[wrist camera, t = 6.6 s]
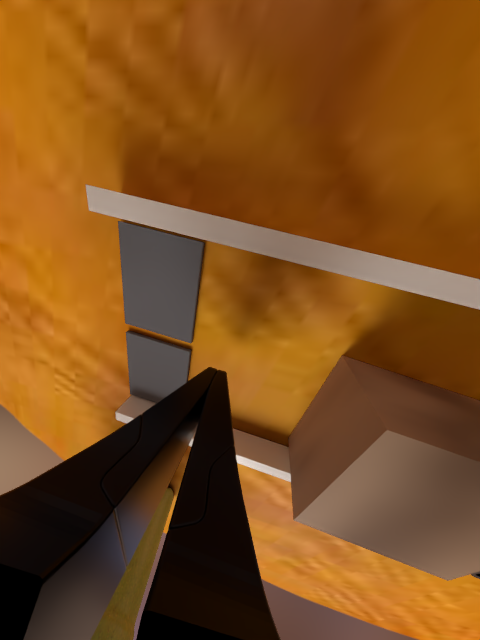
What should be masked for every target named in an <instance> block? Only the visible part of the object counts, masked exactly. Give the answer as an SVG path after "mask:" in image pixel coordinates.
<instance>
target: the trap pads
mask: <svg viewBox="0 0 480 640" xmlns="http://www.w3.org/2000/svg"><path fill="white" fill-rule="evenodd" d="M118 226H119V240H120V254H121V268H122V283H123V297H124V311H125V323H126V324H130V325H133V326H136V327H139V328H143V329H146V330H149V331H152V332H156V333H159V334H162V335H166V336H169V337H172V338H175V339H179V340H182V341H185V342H188V343H192V341H193V333H194V325H195V317H196V309H197V301H198V293H199V285H200V277H201V269H202V261H203V253H204V245H205V243H204V242H200V241H196V240H192V239H188V238H184V237H180V236H176V235H172V234H169V233H165V232H161V231H157V230H153V229H149V228H145V227H141V226H137V225H133V224H129V223H125V222H121V221H118ZM126 340H127V354H128V368H129V383H130V394H131V395H134V396H137V397H140V398H143V399H146V400H149V401H152V402H154V403H158V402H159V401H161V400H162V399H163V398H165V397H166V396H168V395H169V394H171V393H172V392H174V391H175V390H176V389H178V388H179V387H181V386H182V385H184V384H185V383H187V382H188V374H189V366H190V358H191V350H190V349H186V348H183V347H180V346H177V345H173V344H170V343H167V342H164V341H161V340H157V339H154V338H151V337H148V336H144V335H141V334H138V333H135V332H131V331H127V332H126Z"/></svg>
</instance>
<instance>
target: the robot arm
mask: <svg viewBox="0 0 480 640" xmlns="http://www.w3.org/2000/svg"><path fill="white" fill-rule="evenodd" d="M195 431H196V433H195ZM194 433H195V436H194V440H193V444H192V447H191V451H190V454H189V458H188V461H187V465H186V468H185V472H184V475H183V479H182V482H181V486H180V489H179V493H178V496H177V500H176V503H175V507H174V510H173V514H172V517H171V521H170V524H169V529H168V532H167V535H166V538H165V542H164V545H163V549H162V552H161V556H160V559H159V562H158V566H157V569H156V572H155V575H154V579H153V582H152V585H151V588H150V591H149V595H148V598H147V601H146V604H145V607H144V611H143V613H142V617H141V621H140V626H139V630H138V635H137V639H136V640H281V639H280V637H279V634H278V631H277V629H276V626H275V623H274V621H273V618H272V615H271V612H270V608H269V605H268V601H267V598H266V595H265V591H264V587H263V584H262V580H261V576H260V572H259V568H258V563H257V559H256V554H255V550H254V545H253V541H252V536H251V532H250V527H249V523H248V518H247V514H246V509H245V505H244V500H243V495H242V490H241V485H240V480H239V474H238V467H237V460H236V451H235V446H234V435H233V426H232V417H231V408H230V399H229V390H228V382H227V373H226V372H225V371H221V370H218V371H217V369H215V368H212V367H208V368H207V369H205V370H204V371H203V372H201V373H200V374H198V375H197V376H195V377H194V378H192V379H191V380H189V381H188V382H187V383H185V384H184V385H182V386H181V387H179V388H178V389H176V390H175V391H174V392H172V393H171V394H169V395H168V396H166V397H165V398H163V399H162V400H161V401H159V402H158V403H156V404H155V405H153V406H152V407H150V408H149V409H148V410H146V411H145V412H143V413H142V415H141V414H140V415H139V416H137V417H136V418H134V419H133V420H131V421H130V422H128V423H127V424H125V425H124V426H122V427H121V428H119V429H118V430H116V431H115V432H113V433H112V434H110V435H108V436H107V437H105V438H103V439H102V440H100V441H98V442H97V443H95V444H93V445H92V446H90V447H88V448H86V449H85V450H83V451H81V452H79V453H78V454H76V455H74V456H72V457H71V458H69V459H67V460H66V461H64V462H62V463H60V464H59V465H57V466H55V467H54V468H52V469H50V470H48V471H47V472H45V473H43V474H41V475H40V476H38V477H36V478H34V479H33V480H31V481H29V482H27V483H25V484H23V485H21V486H20V487H17V488H15V489H14V490H11V491H9V492H7V493H4V494H2V495H0V640H91V638H92V636H93V634H94V632H95V630H96V628H97V626H98V624H99V622H100V620H101V618H102V616H103V614H104V612H105V610H106V608H107V606H108V604H109V602H110V600H111V598H112V596H113V594H114V592H115V590H116V588H117V586H118V584H119V582H120V580H121V578H122V577H123V575H124V573H125V571H126V567H127V566H128V564H129V562H130V560H131V559H132V557H133V555H134V553H135V551H136V549H137V547H138V545H139V543H140V541H141V539H142V537H143V535H144V533H145V531H146V529H147V527H148V525H149V523H150V521H151V519H152V517H153V515H154V513H155V511H156V509H157V507H158V505H159V503H160V501H161V499H162V497H163V495H164V493H165V491H166V489H167V487H168V485H169V483H170V481H171V479H172V477H173V475H174V473H175V471H176V469H177V467H178V465H179V463H180V461H181V459H182V457H183V455H184V453H185V451H186V449H187V447H188V445H189V443H190V441H191V439H192V437H193V435H194ZM471 575H472V576H474V577H476V578H479V579H480V571H479V572H476V573H472V574H471Z"/></svg>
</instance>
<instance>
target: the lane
mask: <svg viewBox="0 0 480 640" xmlns="http://www.w3.org/2000/svg"><path fill="white" fill-rule="evenodd" d="M86 191H87V199H88V206H89V211H93V212H97V213H101V214H105V215H109V216H113V217H116V218H120V219H124V220H128V221H132V222H136V223H140V224H144V225H148V226H152V227H156V228H160V229H164V230H168V231H172V232H176V233H180V234H183V235H187V236H191V237H195V238H199V239H203V240H207V241H211V242H215V243H219V244H223V245H227V246H231V247H235V248H239V249H243V250H247V251H250V252H254V253H258V254H262V255H266V256H270V257H274V258H278V259H282V260H286V261H290V262H294V263H298V264H302V265H306V266H310V267H313V268H317V269H321V270H325V271H329V272H333V273H337V274H341V275H345V276H349V277H353V278H357V279H361V280H365V281H369V282H373V283H377V284H380V285H384V286H388V287H392V288H396V289H400V290H404V291H408V292H412V293H416V294H420V295H424V296H428V297H432V298H436V299H440V300H444V301H447V302H451V303H455V304H459V305H463V306H467V307H471V308H475V309H479V310H480V279H476V278H472V277H468V276H464V275H460V274H455V273H451V272H447V271H443V270H439V269H435V268H431V267H426V266H422V265H418V264H414V263H410V262H406V261H401V260H397V259H393V258H389V257H385V256H381V255H377V254H372V253H368V252H364V251H360V250H356V249H352V248H347V247H343V246H339V245H335V244H331V243H327V242H323V241H318V240H314V239H310V238H306V237H302V236H298V235H293V234H289V233H285V232H281V231H277V230H273V229H268V228H264V227H260V226H256V225H252V224H248V223H244V222H239V221H235V220H231V219H227V218H223V217H219V216H214V215H210V214H206V213H202V212H198V211H194V210H190V209H185V208H181V207H177V206H173V205H169V204H165V203H160V202H156V201H152V200H148V199H144V198H140V197H136V196H131V195H127V194H123V193H119V192H115V191H111V190H106V189H102V188H98V187H94V186H90V185H86ZM155 404H156V403H154V402H152V401H149V400H146V399H143V398H140V397H137V396H134V395H131V396H130V397H129V398H128V399H127V400H126V401H125V402H124V403H123V404H122V405H121V407H120V408H119V409H118V410H117V411H116V412H115V413H116V420H118V421H121V422H124V423H128V422H130V421H131V420H133V419H134V418H136V417H137V416H139V415H140V414H141V415H142V413H143V412H145V411H146V410H148V409H149V408H150V407H152V406H153V405H155ZM195 433H196V431H195ZM195 433H194V435H193V437H192V439H191V441H190V443H189V445H188V446H191V447H192V444H193V440H194V436H195ZM233 435H234V446H235V451H236V460H237V463H239V464H242V465H244V466H247V467H250V468H253V469H256V470H258V471H261V472H264V473H267V474H270V475H272V476H275V477H278V478H281V479H284V480H286V481H289V482H291V473H290V458H289V447H286V446H283V445H280V444H278V443H275V442H272V441H269V440H266V439H263V438H260V437H257V436H254V435H251V434H248V433H245V432H242V431H239V430H236V429H234V428H233Z"/></svg>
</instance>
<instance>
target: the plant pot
mask: <svg viewBox="0 0 480 640" xmlns="http://www.w3.org/2000/svg"><path fill="white" fill-rule="evenodd" d="M173 498H174V495H173V491H172V489H171V488H167V489H166V491H165V493H164V495H163V497H162V499H161V501H160V503H159V505H158V507H157V509H156V511H155V513H154V515H153V517H152V519H151V521H150V523H149V525H148V527H147V529H146V531H145V533H144V535H143V537H142V539H141V541H140V543H139V545H138V547H137V549H136V551H135V553H134V555H133V557H132V559H131V560H130V562H129V564H128V566H127V567H126V571H125V573H124V575H123V577H122V578H121V580H120V582H119V584H118V586H117V588H116V590H115V592H114V594H113V596H112V598H111V600H110V602H109V604H108V606H107V608H106V610H105V612H104V614H103V616H102V618H101V620H100V622H99V624H98V626H97V628H96V630H95V632H94V634H93V636H92V638H91V640H133V637H134V626H135V622H136V618H137V614H138V611H139V608H140V605H141V601H142V598H143V595H144V592H145V588H146V585H147V582H148V579H149V575H150V572H151V569H152V566H153V562H154V559H155V556H156V552H157V549H158V546H159V542H160V539H161V536H162V533H163V530H164V527H165V523H166V520H167V517H168V514H169V511H170V507H171V504H172V501H173Z"/></svg>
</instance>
